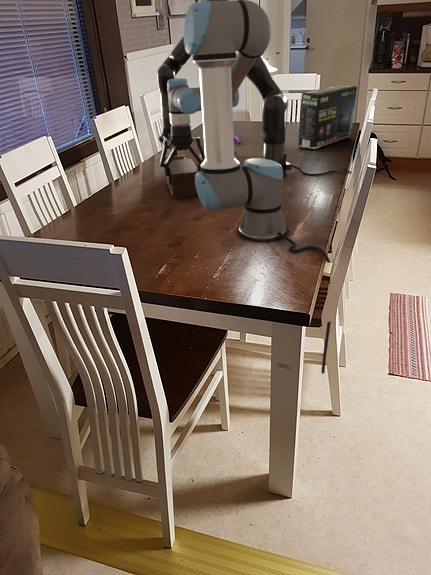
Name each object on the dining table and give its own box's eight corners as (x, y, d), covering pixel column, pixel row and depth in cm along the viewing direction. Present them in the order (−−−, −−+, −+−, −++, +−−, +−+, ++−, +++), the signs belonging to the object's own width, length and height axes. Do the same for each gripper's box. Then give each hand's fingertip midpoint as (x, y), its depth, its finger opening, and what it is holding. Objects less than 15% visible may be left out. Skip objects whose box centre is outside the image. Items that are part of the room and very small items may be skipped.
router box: (314, 151, 231) (318, 94, 217) (296, 148, 237) (299, 92, 224) (352, 138, 251) (358, 85, 238) (335, 135, 258) (340, 83, 245)
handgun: (220, 136, 265) (220, 133, 264) (233, 135, 266) (233, 132, 265) (227, 145, 248) (227, 141, 247) (241, 143, 249) (241, 140, 248)
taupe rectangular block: (167, 183, 195) (164, 160, 190) (192, 181, 197) (190, 158, 192) (173, 198, 180) (171, 174, 175) (200, 195, 182) (199, 171, 177)
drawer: (163, 171, 207) (162, 153, 203) (185, 169, 209) (183, 151, 205) (170, 187, 188) (169, 168, 184) (194, 185, 190) (193, 166, 186)
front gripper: (209, 119, 175) (211, 176, 186) (148, 125, 171) (154, 182, 182) (213, 123, 168) (215, 181, 180) (150, 129, 164) (156, 188, 176)
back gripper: (184, 113, 198) (187, 153, 207) (153, 116, 196) (158, 156, 205) (187, 116, 192) (190, 157, 201) (155, 119, 189) (160, 161, 198)
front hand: (184, 182), depth 181 cm, fingers closed on taupe rectangular block, 11 cm apart
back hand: (174, 157), depth 203 cm, fingers closed
